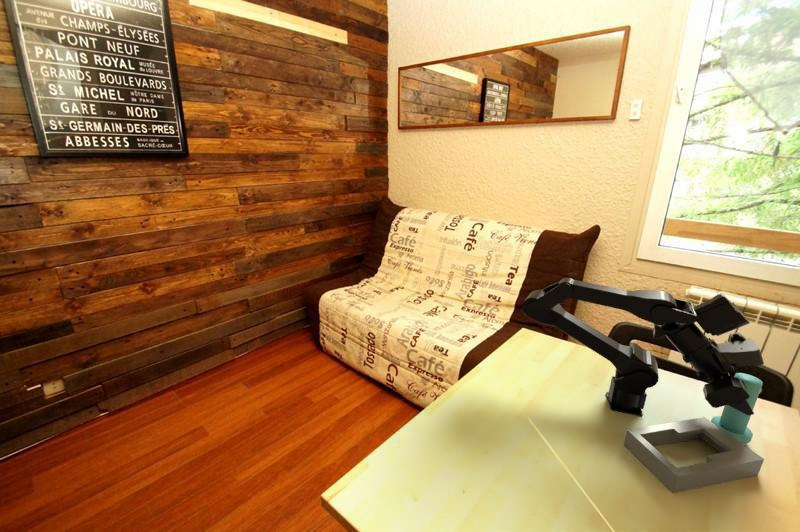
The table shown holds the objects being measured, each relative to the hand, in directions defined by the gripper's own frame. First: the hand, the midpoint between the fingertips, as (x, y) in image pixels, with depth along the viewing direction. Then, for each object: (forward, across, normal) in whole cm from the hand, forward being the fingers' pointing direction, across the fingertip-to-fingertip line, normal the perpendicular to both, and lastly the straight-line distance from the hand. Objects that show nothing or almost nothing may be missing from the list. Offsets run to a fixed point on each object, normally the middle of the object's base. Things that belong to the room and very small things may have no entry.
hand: (748, 408), depth 71 cm
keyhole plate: (-1, -12, +12) cm, 17 cm away
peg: (+4, 0, +6) cm, 7 cm away
